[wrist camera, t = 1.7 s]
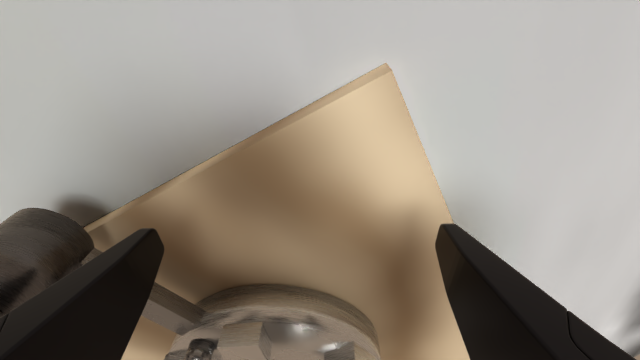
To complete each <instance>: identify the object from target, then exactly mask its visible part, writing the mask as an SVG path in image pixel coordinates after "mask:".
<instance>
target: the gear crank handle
mask: <svg viewBox="0 0 640 360" xmlns="http://www.w3.org/2000/svg"><path fill="white" fill-rule="evenodd" d="M101 253H103V252H101V251H100V250H98V249H96V248H94V243H93V240H92V238H91V237H90V235H89V234H88V233H87V232H86V230H85V229H83V228H82V227H81V226H80V225H79V224H77V223H76V222H74V221H73V220H71V219H70V218H68V217H66V216H64V215H61V214H59V213H56V212H53V211H50V210H46V209H40V208H26V209H22V210H19V211H18V212H16V213H15V214H13V215H12V216H10V217H9V218H8V219H6V220H5V221H4V222H2V223H1V224H0V318H1V317H2V316H4V315H5V314H9V313H10V311H12V310H13V309H15V308H16V307H18V306H20V305H21V304H23V303H24V302H26V301H27V300H29V299H31V298H32V297H34V296H35V295H37V294H38V293H40V292H42V291H43V290H45V289H46V288H48V287H49V286H51V285H53V284H54V283H56V282H57V281H59V280H60V279H62V278H64V277H65V276H67V275H68V274H70V273H71V272H73V271H75V270H76V269H78V268H79V267H81V266H82V265H84V264H86V263H87V262H89V261H90V260H92V259H93V258H95V257H97V256H98V255H100V254H101ZM141 316H143V317H145V318H147V319H149V320H151V321H153V322H155V323H157V324H159V325H161V326H163V327H165V328H167V329H169V330H171V331H173V332H175V333H177V334H176V336H175V338H174V341H173V343H172V345H171V348H170V350H169V352H168V354H166V356H165V358H164V360H381V355H380V348H379V341H378V336H377V332H376V330H375V328H374V325H373V324H372V323H371V321H370V320H369V319H368V318H367V317H366V316H365V315H364V314H363V313H362V312H361V311H360V310H358V309H357V308H355V307H354V306H352V305H351V304H349V303H347V302H345V301H343V300H341V299H339V298H337V297H334V296H332V295H329V294H326V293H323V292H319V291H316V290H312V289H307V288H302V287H297V286H288V285H273V284H263V285H248V286H241V287H235V288H231V289H227V290H223V291H220V292H217V293H214V294H212V295H210V296H208V297H206V298H204V299H202V300H200V301H199V302H197V303H196V304H193V303H191V302H189V301H187V300H186V299H184V298H182V297H180V296H179V295H177V294H175V293H173V292H172V291H170V290H168V289H166V288H165V287H163V286H161V285H159V284H158V283H156V282H154V285H153V288H152V291H151V293H150V296H149V299H148V301H147V303H146V306H145V308H144V310H143V312H142V314H141Z"/></svg>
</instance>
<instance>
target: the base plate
mask: <svg viewBox="0 0 640 360" xmlns="http://www.w3.org/2000/svg"><path fill="white" fill-rule="evenodd" d="M445 223H453V220H452V218H451V215H450V213H449V210H448V208H447V205H446V203H445V200H444V198H443V196H442V193H441V191H440V188H439V186H438V183H437V181H436V178H435V176H434V173H433V171H432V168H431V166H430V163H429V161H428V158H427V156H426V153H425V151H424V149H423V146H422V144H421V141H420V139H419V136H418V134H417V131H416V129H415V126H414V124H413V121H412V119H411V116H410V114H409V111H408V109H407V106H406V104H405V102H404V99H403V97H402V94H401V92H400V89H399V87H398V84H397V82H396V79H395V77H394V74H393V72H392V70H391V68H390V67H389V66H388V64H387V63H385V64H383V65H381V66H379V67H378V68H376V69H374V70H372V71H370V72H368V73H367V74H365V75H363V76H361V77H359V78H357V79H356V80H354V81H352V82H350V83H348V84H346V85H345V86H343V87H341V88H339V89H337V90H335V91H333V92H332V93H330V94H328V95H326V96H324V97H322V98H321V99H319V100H317V101H315V102H313V103H311V104H310V105H308V106H306V107H304V108H302V109H300V110H299V111H297V112H295V113H293V114H291V115H289V116H288V117H286V118H284V119H282V120H280V121H278V122H277V123H275V124H273V125H271V126H269V127H267V128H265V129H264V130H262V131H260V132H258V133H256V134H254V135H253V136H251V137H249V138H247V139H245V140H243V141H242V142H240V143H238V144H236V145H234V146H232V147H231V148H229V149H227V150H225V151H223V152H221V153H220V154H218V155H216V156H214V157H212V158H210V159H209V160H207V161H205V162H203V163H201V164H199V165H197V166H196V167H194V168H192V169H190V170H188V171H186V172H185V173H183V174H181V175H179V176H177V177H175V178H174V179H172V180H170V181H168V182H166V183H164V184H163V185H161V186H159V187H157V188H155V189H153V190H152V191H150V192H148V193H146V194H144V195H142V196H141V197H139V198H137V199H135V200H133V201H131V202H129V203H128V204H126V205H124V206H122V207H120V208H118V209H117V210H115V211H113V212H111V213H109V214H107V215H106V216H104V217H102V218H100V219H98V220H96V221H95V222H93V223H91V224H89V225H87V226H85V227H84V228H83V229H85V230H86V232H87V233H88V234H89V235H90V237H91V238H92V240H93V243H94V248H96V249H98V250H100V251H101V252H104V251H106V250H108V249H109V248H111V247H112V246H114V245H115V244H117V243H118V242H120V241H122V240H123V239H125V238H126V237H128V236H129V235H131V234H133V233H134V232H136V231H137V230H139V229H141V228H154V229H156V230H157V232H158V234H159V236H160V238H161V240H162V242H163V244H164V255H163V258H162V261H161V264H160V267H159V270H158V273H157V276H156V279H155V282H156V283H158V284H159V285H161V286H163V287H165V288H166V289H168V290H170V291H172V292H173V293H175V294H177V295H179V296H180V297H182V298H184V299H186V300H187V301H189V302H191V303H193V304H196V303H197V302H199V301H200V300H202V299H204V298H206V297H208V296H210V295H212V294H214V293H217V292H220V291H223V290H227V289H231V288H235V287H241V286H248V285H263V284H273V285H288V286H297V287H302V288H307V289H312V290H316V291H319V292H323V293H326V294H329V295H332V296H334V297H337V298H339V299H341V300H343V301H345V302H347V303H349V304H351V305H352V306H354V307H355V308H357V309H358V310H360V311H361V312H362V313H363V314H364V315H365V316H366V317H367V318H368V319H369V320H370V321H371V323H372V324H373V325H374V328H375V330H376V332H377V336H378V341H379V348H380V355H381V360H470V358H469V355H468V352H467V349H466V347H465V344H464V341H463V339H462V336H461V333H460V330H459V328H458V325H457V322H456V320H455V317H454V314H453V311H452V309H451V306H450V303H449V300H448V297H447V294H446V290H445V287H444V282H443V278H442V274H441V270H440V266H439V262H438V258H437V254H436V249H435V242H436V238H437V234H438V230H439V227H440V225H441V224H445ZM453 224H454V223H453ZM176 334H177V333H175V332H173V331H171V330H169V329H167V328H165V327H163V326H161V325H159V324H157V323H155V322H153V321H151V320H149V319H147V318H145V317H143V316H141V317H140V319H139V321H138V323H137V325H136V328H135V330H134V332H133V334H132V336H131V339H130V341H129V343H128V345H127V347H126V350H125V352H124V354H123V356H122V358H121V360H164V358H165V356H166V354H168V352H169V350H170V348H171V345H172V343H173V341H174V338H175V336H176Z"/></svg>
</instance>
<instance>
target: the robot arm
mask: <svg viewBox="0 0 640 360" xmlns="http://www.w3.org/2000/svg"><path fill="white" fill-rule="evenodd" d="M435 249H436V254H437V258H438V262H439V266H440V270H441V274H442V278H443V282H444V287H445V290H446V294H447V297H448V300H449V303H450V306H451V309H452V311H453V314H454V317H455V320H456V322H457V325H458V328H459V330H460V333H461V336H462V339H463V341H464V344H465V347H466V349H467V352H468V355H469V358H470V360H636V359H635V358H633V357H632V356H630V355H629V354H628V353H626V352H625V351H623V350H622V349H620V348H619V347H617V346H616V345H615V344H613V343H612V342H610V341H609V340H608V339H606V338H605V337H604V336H602V335H601V334H599V333H598V332H597V331H595V330H594V329H593V328H591V327H590V326H589V325H587V324H586V323H585V322H583V321H582V320H581V319H579V318H578V317H577V316H575V315H574V314H573V313H572V312H570V311H567V309H566V308H565V307H564V306H562V305H561V304H560V303H558V302H557V301H556V300H554V299H553V298H552V297H550V296H549V295H548V294H547V293H545V292H544V291H543V290H541V289H540V288H539V287H537V286H536V285H535V284H533V283H532V282H531V281H530V280H528V279H527V278H526V277H524V276H523V275H522V274H520V273H519V272H518V271H516V270H515V269H514V268H513V267H511V266H510V265H509V264H507V263H506V262H505V261H503V260H502V259H501V258H499V257H498V256H497V255H496V254H494V253H493V252H492V251H490V250H489V249H488V248H486V247H485V246H484V245H482V244H481V243H480V242H479V241H477V240H476V239H475V238H473V237H472V236H471V235H469V234H468V233H467V232H465V231H464V230H463V229H462V228H460V227H459V226H458V225H456V224H453V223H445V224H441V225H440V227H439V230H438V234H437V238H436V242H435ZM163 255H164V244H163V242H162V240H161V238H160V236H159V234H158V232H157V230H156V229H154V228H141V229H139V230H137V231H136V232H134V233H133V234H131V235H129V236H128V237H126V238H125V239H123V240H122V241H120V242H118V243H117V244H115V245H114V246H112V247H111V248H109V249H108V250H106V251H104V252H103V253H101V254H100V255H98V256H97V257H95V258H93V259H92V260H90V261H89V262H87V263H86V264H84V265H82V266H81V267H79V268H78V269H76V270H75V271H73V272H71V273H70V274H68V275H67V276H65V277H64V278H62V279H60V280H59V281H57V282H56V283H54V284H53V285H51V286H49V287H48V288H46V289H45V290H43V291H42V292H40V293H38V294H37V295H35V296H34V297H32V298H31V299H29V300H27V301H26V302H24V303H23V304H21V305H20V306H18V307H16V308H15V309H13V310H12V311H10V313H9V314H5V315H4V316H2V317H1V318H0V360H121V358H122V356H123V354H124V352H125V350H126V347H127V345H128V343H129V341H130V339H131V336H132V334H133V332H134V330H135V328H136V325H137V323H138V321H139V319H140V317H141V314H142V312H143V310H144V308H145V306H146V303H147V301H148V299H149V296H150V293H151V291H152V288H153V285H154V282H155V279H156V276H157V273H158V270H159V267H160V264H161V261H162V258H163Z"/></svg>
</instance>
